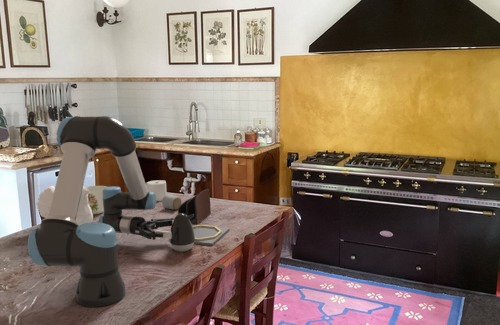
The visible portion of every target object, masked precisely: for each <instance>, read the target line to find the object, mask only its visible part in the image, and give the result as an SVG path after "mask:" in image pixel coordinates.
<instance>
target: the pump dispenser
mask: <svg viewBox="0 0 500 325" xmlns="http://www.w3.org/2000/svg"><path fill="white" fill-rule="evenodd" d="M192 217H194V214H191V215H189V216H187V215H186V214H183V213H180V214H178V213H177V214H176V216H175V217H173V218H174V220H173V223H172V226H170V231H169V232H172V239H170V241H169V244H170V246H171V248H172V249H173V250H174V251H176V252H180V253H183V252H188V251H189V250H191V249H192V248H193V246H194V241H195V235H194V230H193V227H192V224H191V222H190V220H189V219H190V218H192Z"/></svg>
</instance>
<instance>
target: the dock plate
mask: <svg viewBox="0 0 500 325" xmlns="http://www.w3.org/2000/svg"><path fill="white" fill-rule="evenodd" d="M192 227H193V230H194V235H195V241H194V244H195V245H201V246H202V245H204V246H212V247H213V246H214V245H215V244H216V243H217V242H219V240H221V239H222V238H223V237H224V236H225V235H226V234H227V233H228V232H230V228H229V227H219V226H215V225H207V224H198V225H192ZM221 237H222V238H221ZM168 242H170V239H168ZM194 244H193V245H194Z"/></svg>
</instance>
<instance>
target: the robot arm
mask: <svg viewBox="0 0 500 325" xmlns="http://www.w3.org/2000/svg"><path fill="white" fill-rule="evenodd" d="M56 135H57V137H56V142H57V144H58V146H59V147H60V148H59V149H60V151H61V152H62V153H63V155H62V158H61V159H62V160H61V163H60V167H59V170H58V176H57V178H56V182H55V186H54V187H55V190H54V194H53V198H52V202H51V206H50V210H49V214H48V217H46V218H45V217H44V218H43V219H41V221H40V226H39V227H35V228H33V229H32V230H31V231H30V233H29V235H28V239H27V252H28V254H29V258H30V260H31V261H32V263H34V264H35V265H37V266H46V267H79V279H78V284H77V288H76V292H75V299H76V302H77V304H79V305H80V306H83V307H86V308H87V307H88V308H100V307H106V306H109V305H112V304H115V303H117V302H119V301H120V300H122V299H123V298H125V297H126V293H127V292H126V284H125V283H124V280H123V277H122V275H121V273H120V271H119V256H118V254H119V253H118V239H117V234H116V233H118V234H126V235H127V236H128V235H136V236H141V237H143V238H145V239H148V240H153V241H154V240H156V238H159V239H167V240H169V239H172V232H170V231H167V230H158V229H159V228H166V227H171V226H172V223H173V220H174V218H175V217H172V218H171V217H170V218H169V217H168V218H150V220H145V218H144V217H143V216H133V215H123V211H126V210H127V211H131V210H132V211H135V210H136V211H149V210H150V211H151V210H154V209H155V208H156V206H157V205H156V204H157V201H156V195H155V193H154V192H148V190H147V187H146V184H145V183H146V181H145V178H144V175H143V172H142V169H141V165H140V161H139V159H138V155H137V153H136V149H137V144H136V141H135V138H134V136H133V134H132V132H131V131H130V130H129V129H128V128H127V127H126V125H124V124H123V123H122V121H121V122H120V120H117V119H116V118H115V117H114V118H113V117H111V116H109V115H108V116H107V115H103V116H101V115H100V116H79V115H74V116H67V117H65V118H63V119H62V120H61V121H60V123H59V124H58V126H57V130H56ZM98 149H99V150H100V149H101V150H104V149H106V150H109V152H110V154H111V155H112V156H113V157H114V158H115V160H116V162H117V166H118V168H119V170H120V173H121V176H122V178H123V181H124V183H125V186H126V188H127V191H122V190H121V189H122V188H121V187H120V186H114V185H113V186H107V187H106V188H105V189H103V199H102V200H103V209H104V212H103V213H101V215H100V216H99V218H98V222H94V221H92V223H84V224H81V225H78V224H77V222H76V216H77V212H78V207H79V203H80V198H81V194H82V189H83V186H84V183H85V179H86V176H87V170H88V166H89V162H90V160H91V159H92V158H94V157H95V155H96V150H98Z"/></svg>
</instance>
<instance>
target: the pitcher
mask: <svg viewBox="0 0 500 325" xmlns="http://www.w3.org/2000/svg"><path fill="white" fill-rule="evenodd" d="M106 187H108V186H106V185H90V186H87V187H85V189H87V190H89V191H88V193H87V194H88V203H89V206H90V208H91V210H92V214H93V215H100V214H104V209H103V200H102V199H103V189H105V188H106Z"/></svg>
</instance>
